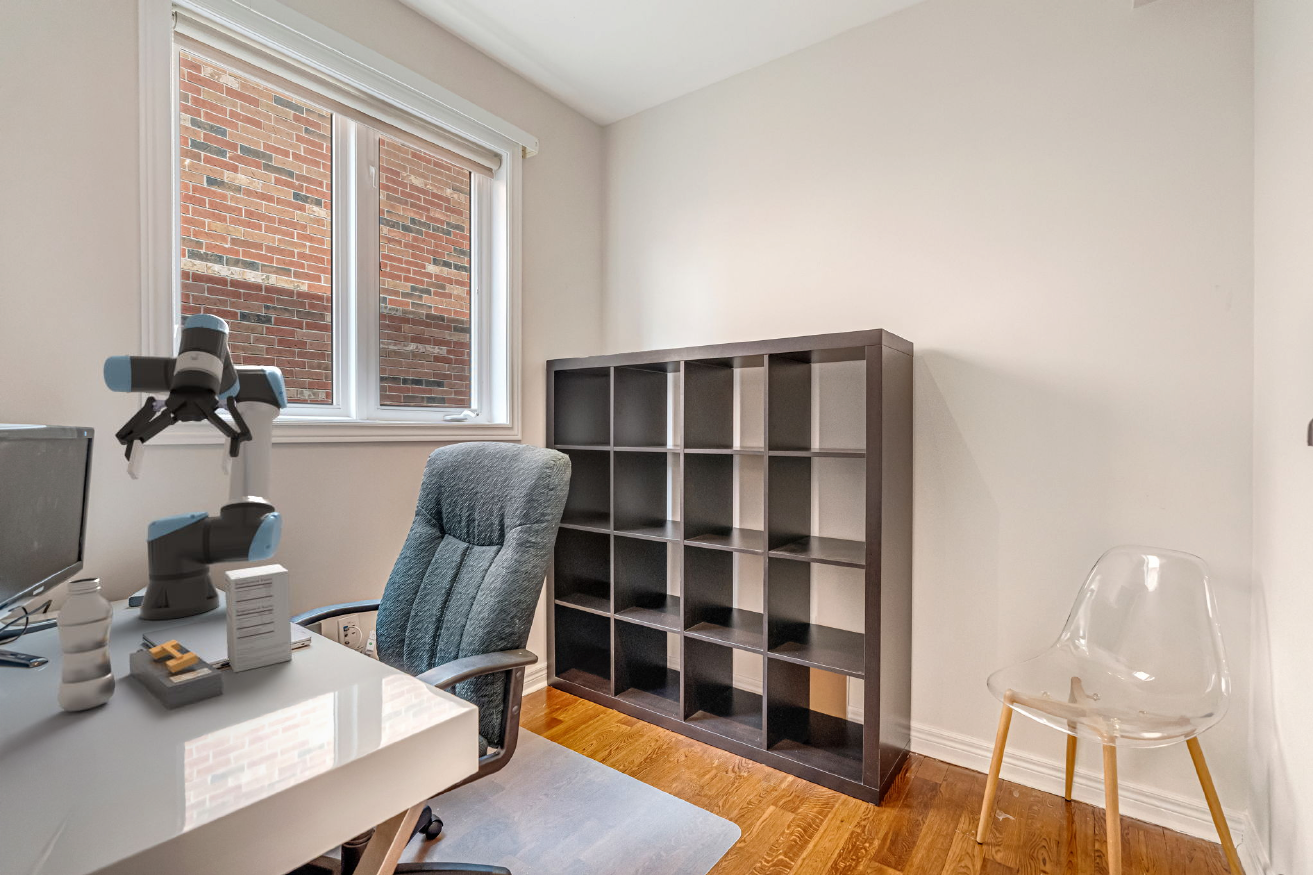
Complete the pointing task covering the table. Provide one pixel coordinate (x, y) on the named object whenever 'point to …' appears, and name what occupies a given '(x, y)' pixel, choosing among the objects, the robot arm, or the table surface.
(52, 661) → the table surface
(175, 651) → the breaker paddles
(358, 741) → the table surface
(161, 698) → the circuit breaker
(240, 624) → the supplement box
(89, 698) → the plastic bottle
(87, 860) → the table surface
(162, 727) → the table surface
